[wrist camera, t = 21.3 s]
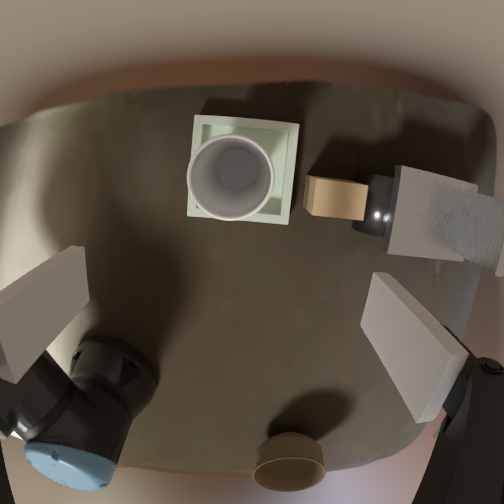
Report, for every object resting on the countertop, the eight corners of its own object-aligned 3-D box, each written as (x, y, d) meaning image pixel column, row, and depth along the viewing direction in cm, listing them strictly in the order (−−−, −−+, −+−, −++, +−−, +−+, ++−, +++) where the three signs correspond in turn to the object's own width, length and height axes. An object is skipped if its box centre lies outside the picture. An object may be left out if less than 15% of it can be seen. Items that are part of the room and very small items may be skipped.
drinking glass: (252, 131, 36) (253, 118, 21) (275, 182, 38) (290, 200, 23) (201, 154, 37) (170, 156, 22) (224, 204, 38) (208, 236, 24)
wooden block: (302, 206, 39) (312, 215, 33) (306, 174, 38) (316, 178, 32) (347, 211, 39) (363, 220, 34) (351, 180, 38) (368, 185, 33)
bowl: (254, 417, 50) (255, 460, 40) (324, 416, 50) (334, 457, 41) (249, 455, 54) (250, 494, 44) (310, 454, 54) (317, 491, 45)
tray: (190, 212, 39) (187, 215, 37) (198, 117, 36) (194, 114, 33) (285, 220, 40) (287, 224, 37) (295, 126, 36) (299, 123, 34)
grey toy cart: (344, 234, 40) (393, 278, 25) (354, 158, 37) (414, 164, 22) (444, 246, 41) (510, 285, 26) (456, 181, 38) (530, 199, 23)
